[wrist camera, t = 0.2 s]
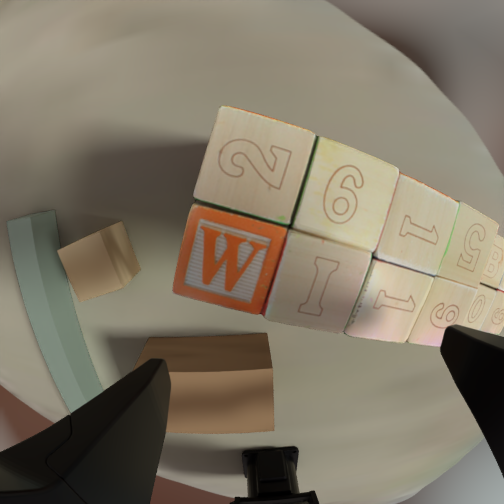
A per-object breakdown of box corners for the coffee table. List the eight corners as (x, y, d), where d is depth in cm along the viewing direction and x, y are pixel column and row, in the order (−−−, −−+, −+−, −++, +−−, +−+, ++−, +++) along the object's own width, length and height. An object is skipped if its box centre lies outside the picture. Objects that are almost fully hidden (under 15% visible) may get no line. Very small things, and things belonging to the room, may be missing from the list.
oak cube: (141, 268, 22) (122, 288, 18) (101, 282, 22) (79, 302, 18) (122, 220, 20) (99, 231, 17) (83, 237, 21) (57, 250, 17)
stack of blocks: (459, 229, 22) (560, 270, 10) (436, 291, 23) (523, 358, 11) (231, 142, 19) (217, 98, 8) (207, 226, 21) (166, 296, 9)
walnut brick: (269, 392, 25) (274, 430, 21) (166, 394, 25) (156, 431, 20) (266, 331, 23) (272, 368, 19) (149, 336, 23) (132, 370, 18)
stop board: (124, 435, 27) (116, 456, 23) (103, 431, 27) (94, 451, 23) (54, 209, 20) (30, 217, 16) (31, 214, 20) (6, 221, 16)
